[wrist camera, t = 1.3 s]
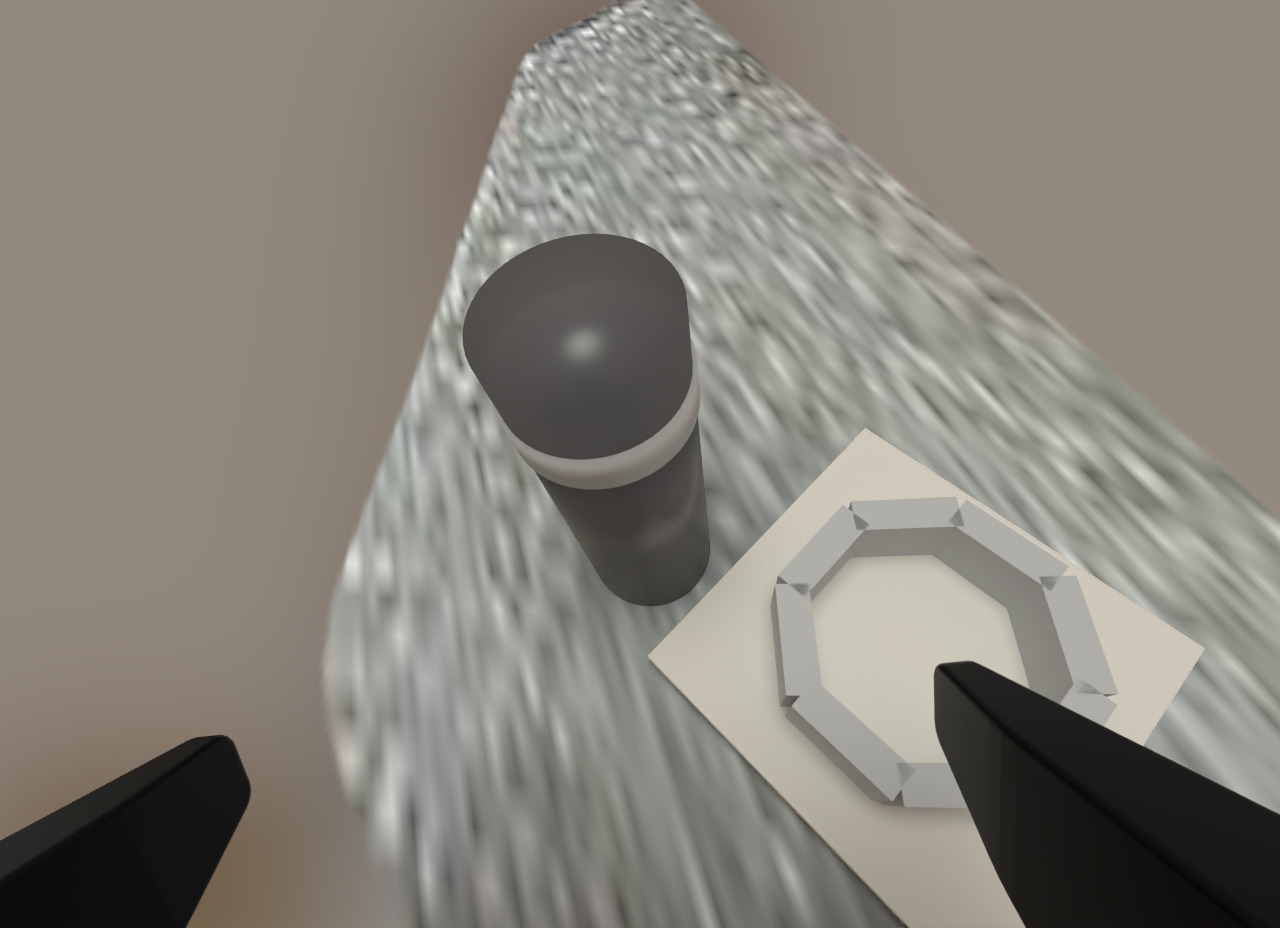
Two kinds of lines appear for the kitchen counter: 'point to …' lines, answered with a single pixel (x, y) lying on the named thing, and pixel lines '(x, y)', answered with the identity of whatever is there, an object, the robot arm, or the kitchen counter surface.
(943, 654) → the collar mount
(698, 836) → the kitchen counter surface
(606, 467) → the dark grey capped cylinder
